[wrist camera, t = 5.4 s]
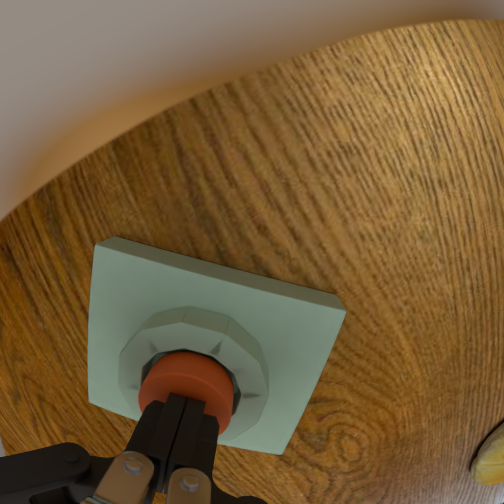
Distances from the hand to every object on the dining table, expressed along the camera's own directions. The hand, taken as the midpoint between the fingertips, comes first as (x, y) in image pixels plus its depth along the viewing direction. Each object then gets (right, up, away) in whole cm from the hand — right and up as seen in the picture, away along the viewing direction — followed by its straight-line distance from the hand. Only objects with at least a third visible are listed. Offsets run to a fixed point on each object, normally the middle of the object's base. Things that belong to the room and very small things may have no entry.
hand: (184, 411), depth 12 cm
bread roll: (+28, -12, +8) cm, 31 cm away
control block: (0, +1, +5) cm, 6 cm away
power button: (0, 0, +2) cm, 2 cm away
